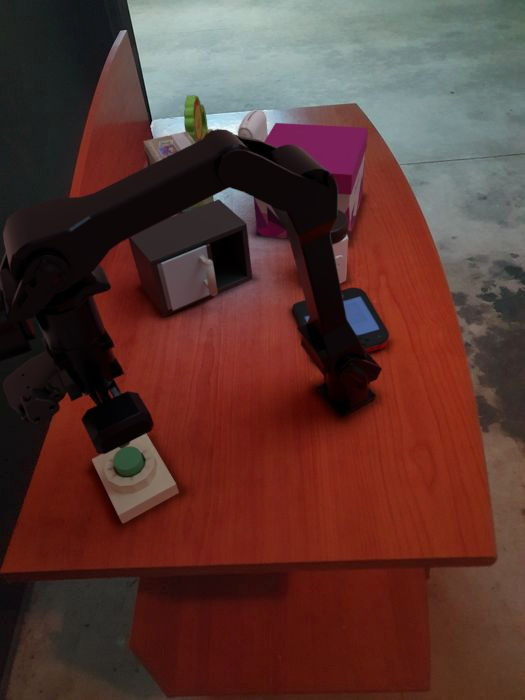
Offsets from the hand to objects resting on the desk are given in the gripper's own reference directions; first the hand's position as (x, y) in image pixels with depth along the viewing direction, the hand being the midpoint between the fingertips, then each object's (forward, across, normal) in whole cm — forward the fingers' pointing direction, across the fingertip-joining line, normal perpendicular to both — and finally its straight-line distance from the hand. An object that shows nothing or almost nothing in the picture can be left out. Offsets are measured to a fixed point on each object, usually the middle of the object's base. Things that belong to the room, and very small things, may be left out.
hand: (113, 425), depth 68 cm
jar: (+12, -21, +46) cm, 52 cm away
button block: (+12, 0, 0) cm, 12 cm away
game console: (+12, -8, +40) cm, 43 cm away
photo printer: (+12, -65, +58) cm, 88 cm away
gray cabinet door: (+11, -26, +23) cm, 36 cm away
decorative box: (+12, -39, +56) cm, 69 cm away
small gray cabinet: (+12, -33, +26) cm, 44 cm away
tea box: (+12, -56, +35) cm, 67 cm away
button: (+8, 0, 0) cm, 8 cm away
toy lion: (+12, -78, +50) cm, 93 cm away
